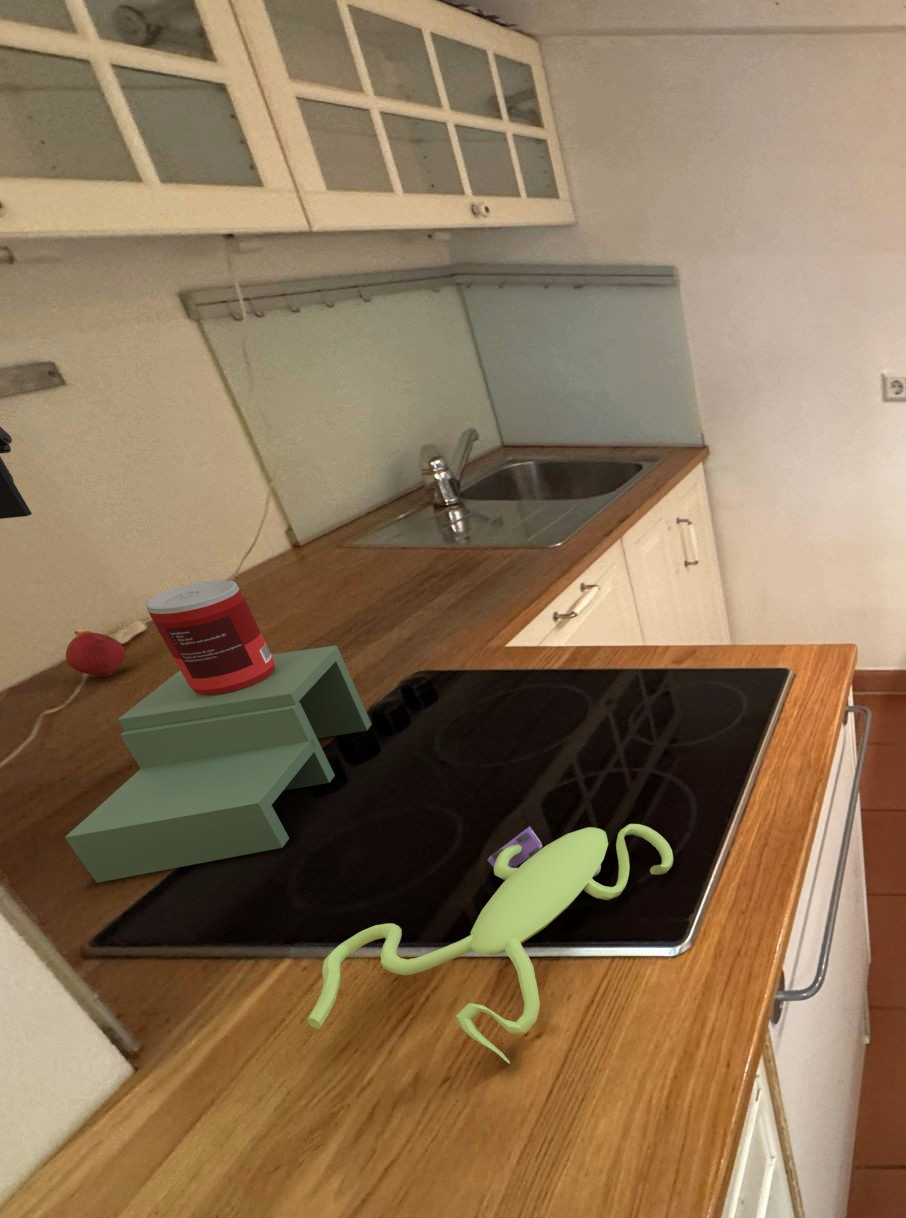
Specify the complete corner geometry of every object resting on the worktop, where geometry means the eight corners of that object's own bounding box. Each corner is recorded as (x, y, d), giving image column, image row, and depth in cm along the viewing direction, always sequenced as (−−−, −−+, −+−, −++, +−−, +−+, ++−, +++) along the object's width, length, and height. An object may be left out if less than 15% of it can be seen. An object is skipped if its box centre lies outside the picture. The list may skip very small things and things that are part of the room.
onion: (125, 663, 120) (98, 617, 116) (142, 670, 117) (115, 624, 114) (74, 681, 115) (44, 634, 111) (90, 689, 113) (61, 641, 109)
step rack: (96, 883, 77) (29, 787, 72) (229, 747, 98) (184, 666, 92) (282, 847, 81) (231, 754, 75) (372, 724, 101) (337, 645, 96)
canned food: (250, 658, 94) (209, 576, 89) (294, 667, 91) (254, 583, 86) (175, 690, 87) (126, 603, 82) (220, 701, 85) (172, 612, 80)
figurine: (294, 1043, 60) (263, 995, 58) (548, 819, 83) (534, 777, 81) (477, 1107, 55) (452, 1057, 53) (694, 850, 78) (683, 807, 76)
